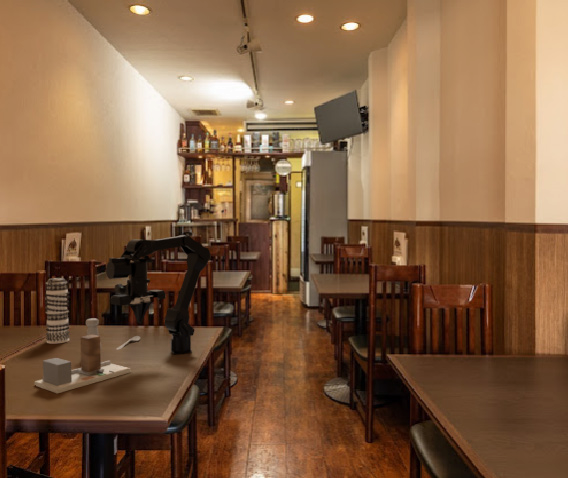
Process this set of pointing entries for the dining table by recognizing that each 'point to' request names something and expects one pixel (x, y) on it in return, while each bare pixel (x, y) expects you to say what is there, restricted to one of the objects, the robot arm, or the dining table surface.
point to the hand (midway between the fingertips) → (139, 322)
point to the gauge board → (73, 375)
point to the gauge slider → (90, 355)
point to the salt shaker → (92, 327)
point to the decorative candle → (57, 311)
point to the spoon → (129, 340)
